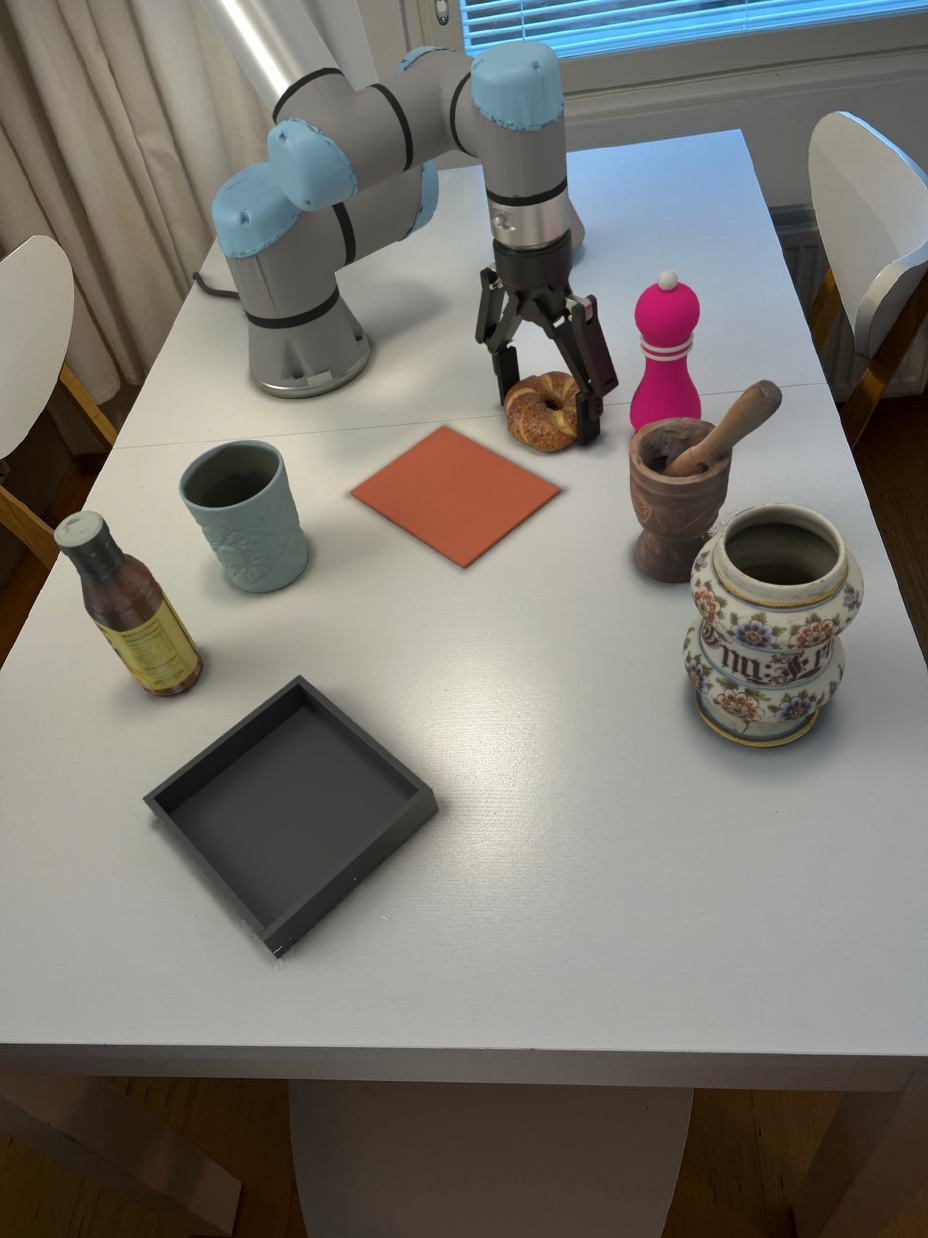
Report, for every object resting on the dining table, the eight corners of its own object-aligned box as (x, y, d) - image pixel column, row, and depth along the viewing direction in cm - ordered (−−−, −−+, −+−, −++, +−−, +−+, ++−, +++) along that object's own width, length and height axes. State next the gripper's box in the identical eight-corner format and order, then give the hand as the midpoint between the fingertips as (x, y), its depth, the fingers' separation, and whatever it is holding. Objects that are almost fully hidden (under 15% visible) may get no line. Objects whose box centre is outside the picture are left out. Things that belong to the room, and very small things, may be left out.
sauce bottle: (145, 653, 91) (48, 501, 76) (208, 643, 91) (122, 488, 76) (135, 708, 87) (30, 558, 72) (201, 697, 86) (109, 545, 71)
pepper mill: (698, 468, 97) (707, 292, 82) (627, 467, 98) (623, 294, 83) (700, 424, 101) (710, 249, 86) (633, 423, 103) (630, 252, 88)
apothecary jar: (863, 730, 74) (912, 575, 61) (722, 779, 73) (740, 632, 60) (785, 623, 82) (813, 464, 69) (657, 666, 81) (660, 513, 68)
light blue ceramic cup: (238, 612, 93) (194, 524, 84) (208, 553, 99) (165, 465, 90) (331, 569, 95) (298, 479, 86) (296, 513, 101) (262, 424, 92)
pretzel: (596, 456, 100) (594, 428, 97) (496, 456, 103) (491, 429, 100) (604, 387, 108) (603, 360, 105) (511, 389, 110) (507, 362, 107)
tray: (157, 818, 78) (141, 798, 76) (309, 696, 85) (299, 673, 82) (277, 959, 69) (263, 941, 66) (439, 810, 75) (432, 789, 73)
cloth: (350, 494, 102) (349, 491, 102) (443, 427, 107) (443, 425, 107) (464, 568, 92) (463, 565, 92) (560, 491, 97) (560, 488, 97)
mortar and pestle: (741, 513, 92) (760, 334, 77) (767, 577, 86) (792, 397, 71) (623, 532, 92) (619, 358, 77) (640, 596, 87) (639, 422, 72)
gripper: (420, 218, 94) (453, 399, 110) (600, 285, 81) (608, 478, 97) (473, 187, 97) (498, 367, 113) (655, 246, 84) (654, 441, 100)
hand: (549, 419), depth 105 cm, fingers closed on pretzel, 11 cm apart
